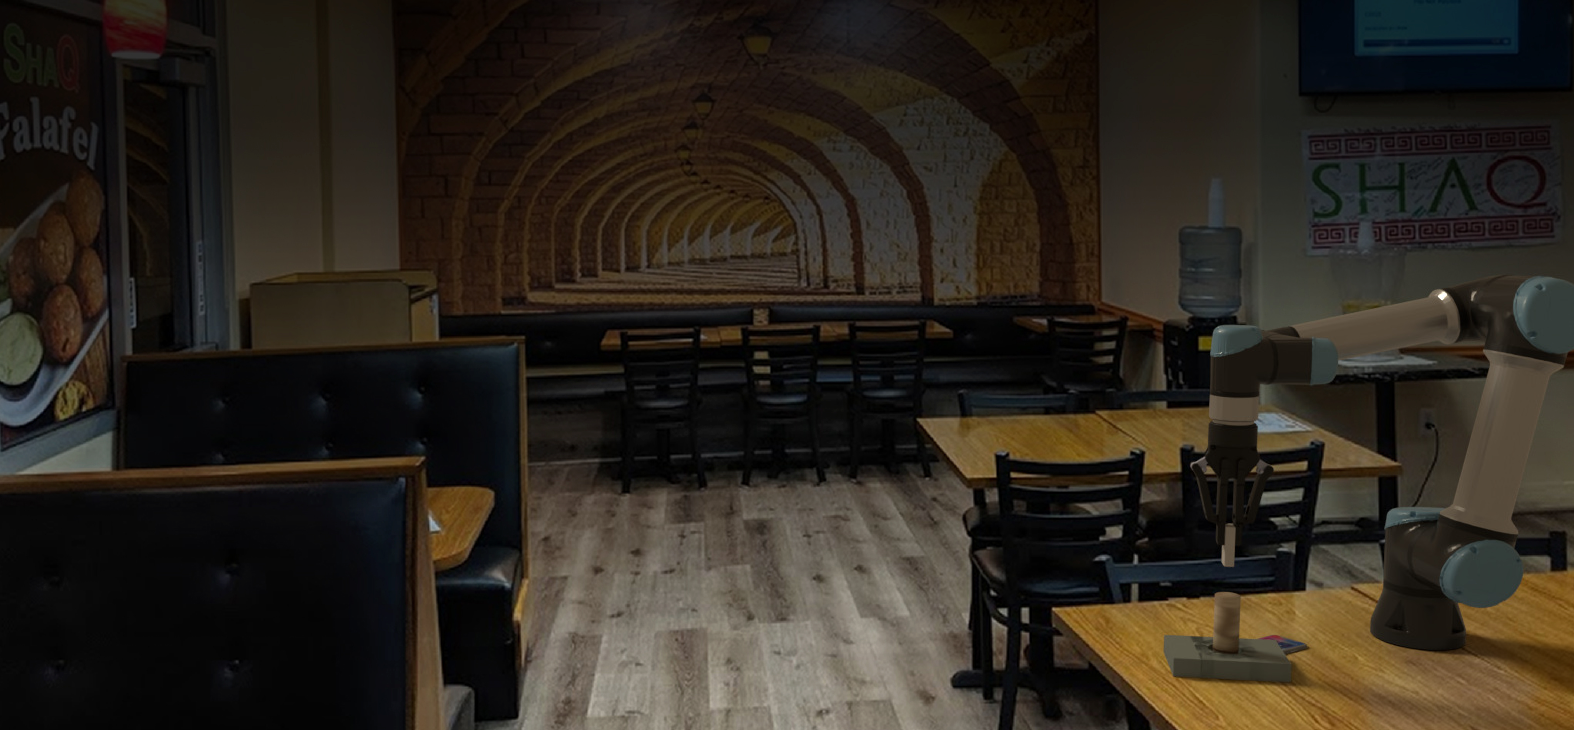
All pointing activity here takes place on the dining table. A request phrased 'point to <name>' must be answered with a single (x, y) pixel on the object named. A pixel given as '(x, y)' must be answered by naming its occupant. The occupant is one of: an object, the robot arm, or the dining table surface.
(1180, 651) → the board
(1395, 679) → the dining table surface
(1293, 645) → the smartphone
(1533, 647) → the dining table surface
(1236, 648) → the peg
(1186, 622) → the dining table surface
